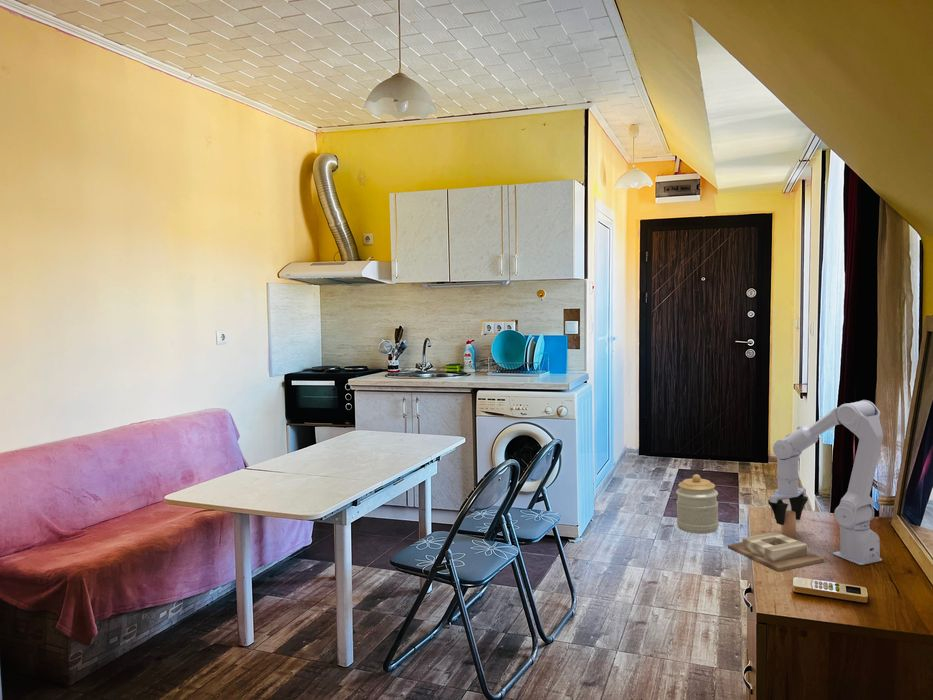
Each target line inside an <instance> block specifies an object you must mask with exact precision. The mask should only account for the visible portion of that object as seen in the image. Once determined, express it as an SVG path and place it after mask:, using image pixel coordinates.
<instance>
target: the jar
mask: <svg viewBox="0 0 933 700" xmlns="http://www.w3.org/2000/svg"><path fill="white" fill-rule="evenodd" d="M678 487H679V488H677V489H676V491H675V493H676V494H677V495H676V496H677V499H676V501H675V503H676V512H677V513H676V515H677V516H676V517H677V518H676V524H677V528H678V529H679V530H681V531H683V532H686V533H689V534H690V533H691V534H702V535H703V534H712V533H715V532H717V531H718V530H719V525H720V524H719V523H720V521H719V502H718V500H717V497H718V495H719V492H718V490H716V489H715V487H716V484H714V483H713V482H712V481H710V480H708V479H705V478H701V475H700V474H697V473H696V474H693V475H692V478H685V479H683V480H682V481H681V482H679V483H678Z"/></svg>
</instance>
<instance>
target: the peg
mask: <svg viewBox="0 0 933 700" xmlns="http://www.w3.org/2000/svg"><path fill="white" fill-rule="evenodd" d="M781 534H782V535H784V536H787V537H790V538H792V539H795V540H797V520H796V512H794V511H790V510H786V513H785V522H784V525H781Z"/></svg>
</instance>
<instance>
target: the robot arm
mask: <svg viewBox="0 0 933 700" xmlns="http://www.w3.org/2000/svg"><path fill="white" fill-rule="evenodd" d="M880 417H881V411H880V409H878V407H877V406H876V405H875V403H873V402H872V401H870V400H867V399H862V400H859V401H855V402H850V403H843V404H841V405H839V406H838V407H835V408H833V409H832V410H830V411H829V412H828V413H826V414H825V415H824V416H823V417H821V418H820V419H818V420H817V421H816V422H814V423H813V424H811V425H806V424H805V425H798V426H797V427H796V430H795V431H794V432H792V433H791V434H790V433H788V434H786V435H785V438H784V439H777V440H776V442H774V444H773V446H772V451H773V453H774V455H775V457H776V458H777V460H776V462H777V464H776V466H777V468H776V469H777V489H774V493H773V494H771V495H770V494H769V499H768V505H769V506H770V508H771V510H772V513H773V516H774V519H775V524H778V525H784V522H785V513H786V509H787V506H788V504H786V503H783V502H782V500H785V499H789V500H790V504H791V511H794V512H796V521H800V520H801V518H802V514H803V513H802V512H803V510H804V508H805V505H806V503H808V500H809V497H808V496H806V495H807V489H806V488H805V487H799V461H800V459H799V458H800V456H801V454H802V452H804V450H806V449H808V448H809V447H810V446H812V445H814V444H816V443H817V442H818V440H819V436H820V435H821V434H823V433H825V432H826V431H828V430H830V429H832V428H834V427H836V426H837V425H843V426H844V427H845V428H847V429H848V430H849V431H850V432H851V433H853V434H854V435H855V436H856V437H857V439H858V444H857V449H856V453H855V457H854V461H853V467H852V471H851V474H850V479H849V483H848V488H847V491H846V492H845V494H844V495H843V497H841V498H840V501H839V505H838V506H837V507H836V508H835V509H834V519H835V521H836V522H837V524H838V527H839V551H834V552H832V555H833V556H836V557H839V558H841V559H844V560H846V561H848V562H851V563H854V564H857V565H859V566H864V565H869V564H873V563H878V562H882V561H883V559H882V558H881V556H880V554H881V553H880V552H881V551H880V550H881V542H880V541H881V539H880V536H879V535H878V533H876V532H875V531H873V530H872V529H871V528H870V524H871V523H870V522H871V521H872V520H873V519H874V517H875V509H874V499H873V497H871V491H872V488H873V487H872V486H873V484H874V483H873V482H874V478H875V473H876V470H877V465H878V462H879V457H880V454H881V450H882V445H883V441H884V432H883V428H882V425H881V420H880Z"/></svg>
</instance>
